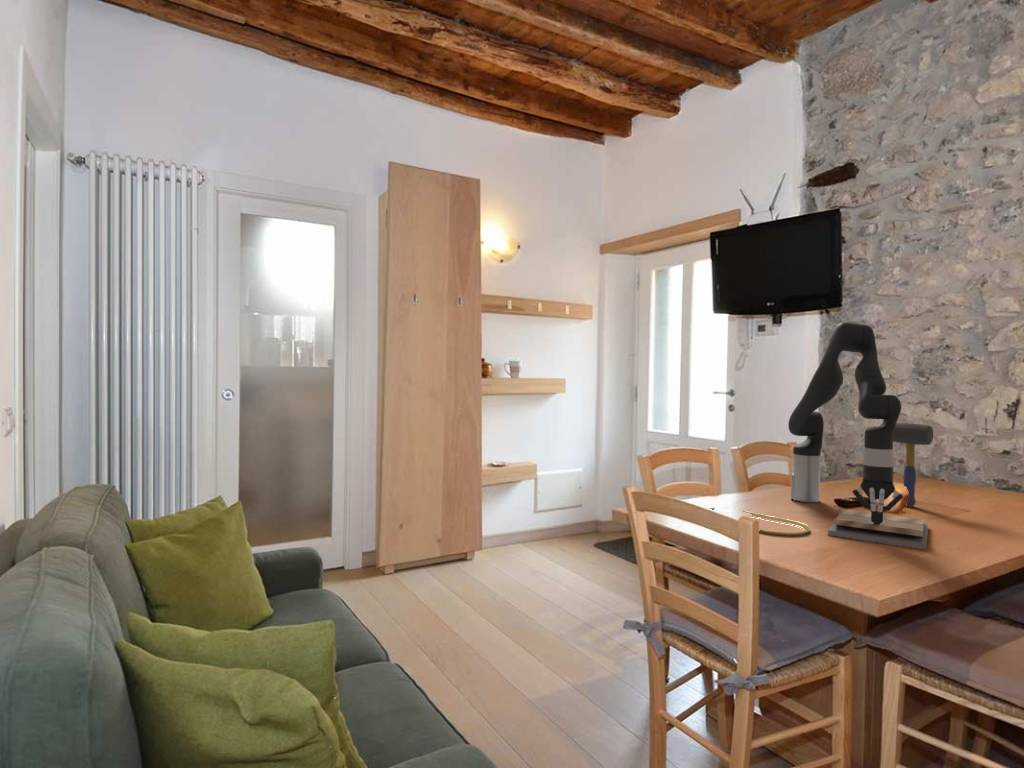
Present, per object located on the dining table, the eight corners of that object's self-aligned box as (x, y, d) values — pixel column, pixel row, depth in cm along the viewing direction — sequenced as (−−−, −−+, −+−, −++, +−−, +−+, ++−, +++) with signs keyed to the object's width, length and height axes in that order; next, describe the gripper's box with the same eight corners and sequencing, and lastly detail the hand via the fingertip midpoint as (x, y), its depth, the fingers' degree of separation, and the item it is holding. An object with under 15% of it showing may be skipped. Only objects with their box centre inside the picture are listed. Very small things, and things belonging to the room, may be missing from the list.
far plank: (839, 518, 194) (840, 513, 194) (843, 513, 200) (843, 509, 200) (923, 529, 181) (923, 524, 181) (923, 524, 188) (923, 519, 188)
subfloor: (827, 535, 180) (828, 524, 180) (840, 516, 203) (840, 507, 202) (926, 550, 166) (926, 538, 166) (927, 528, 189) (927, 518, 189)
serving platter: (715, 509, 212) (715, 505, 212) (820, 530, 186) (820, 525, 186) (685, 518, 200) (685, 513, 200) (793, 541, 174) (793, 536, 174)
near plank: (832, 524, 181) (833, 518, 181) (836, 523, 187) (836, 518, 187) (922, 536, 168) (922, 530, 168) (922, 535, 174) (922, 530, 174)
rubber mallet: (932, 508, 217) (935, 424, 216) (925, 511, 212) (927, 425, 211) (893, 501, 226) (895, 421, 226) (885, 504, 222) (887, 422, 221)
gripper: (906, 464, 174) (904, 525, 174) (853, 460, 182) (852, 518, 182) (904, 467, 168) (903, 530, 168) (850, 463, 176) (849, 523, 176)
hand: (876, 524), depth 175 cm, fingers closed
